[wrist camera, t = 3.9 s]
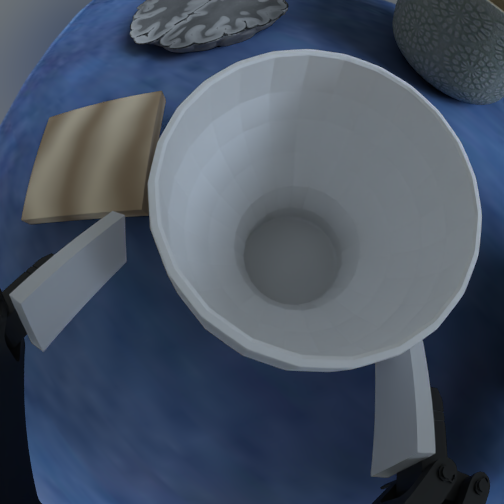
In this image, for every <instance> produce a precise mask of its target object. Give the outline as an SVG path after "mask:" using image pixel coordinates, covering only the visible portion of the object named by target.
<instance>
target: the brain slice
mask: <svg viewBox="0 0 504 504" xmlns="http://www.w3.org/2000/svg"><path fill="white" fill-rule="evenodd" d="M137 9H139V10H138V11H137V12H136V13H135V15H134V16H133V22H132V23H131V25H130V29H131V32H130V37H131V38H133V39H134V42H135V43H137V44H154V45H157V46H160V47H164V48H165V49H166V50H169V51H171V52H177V53H184V52H193V51H204V50H209V49H212V48H214V47H217V46H228V45H232V44H235V43H239V42H242V41H245V40H247V39H249V38H251V37H252V36H253V35H254V34H255V33H257V32H259V31H261V30H264V29H266V28H268V27H269V26H271V25H272V24H273V23H274V22H275V21H276V20H277V19H279V18H280V17H281V16H282V15H284V14H285V12H286V11H287V10H288V3H287V2H286V1H285V0H146V1H145V2H143V4H141V5H140V6H138V8H137Z"/></svg>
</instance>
